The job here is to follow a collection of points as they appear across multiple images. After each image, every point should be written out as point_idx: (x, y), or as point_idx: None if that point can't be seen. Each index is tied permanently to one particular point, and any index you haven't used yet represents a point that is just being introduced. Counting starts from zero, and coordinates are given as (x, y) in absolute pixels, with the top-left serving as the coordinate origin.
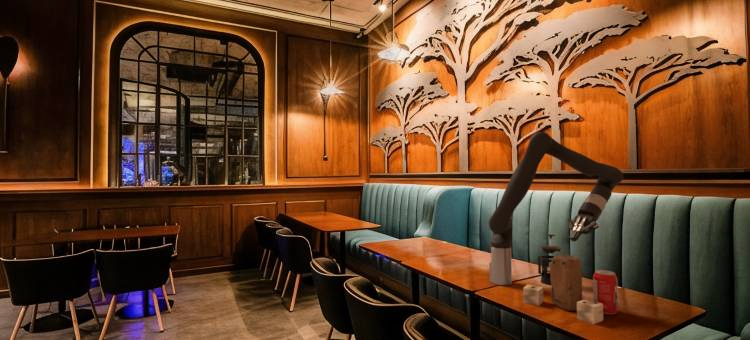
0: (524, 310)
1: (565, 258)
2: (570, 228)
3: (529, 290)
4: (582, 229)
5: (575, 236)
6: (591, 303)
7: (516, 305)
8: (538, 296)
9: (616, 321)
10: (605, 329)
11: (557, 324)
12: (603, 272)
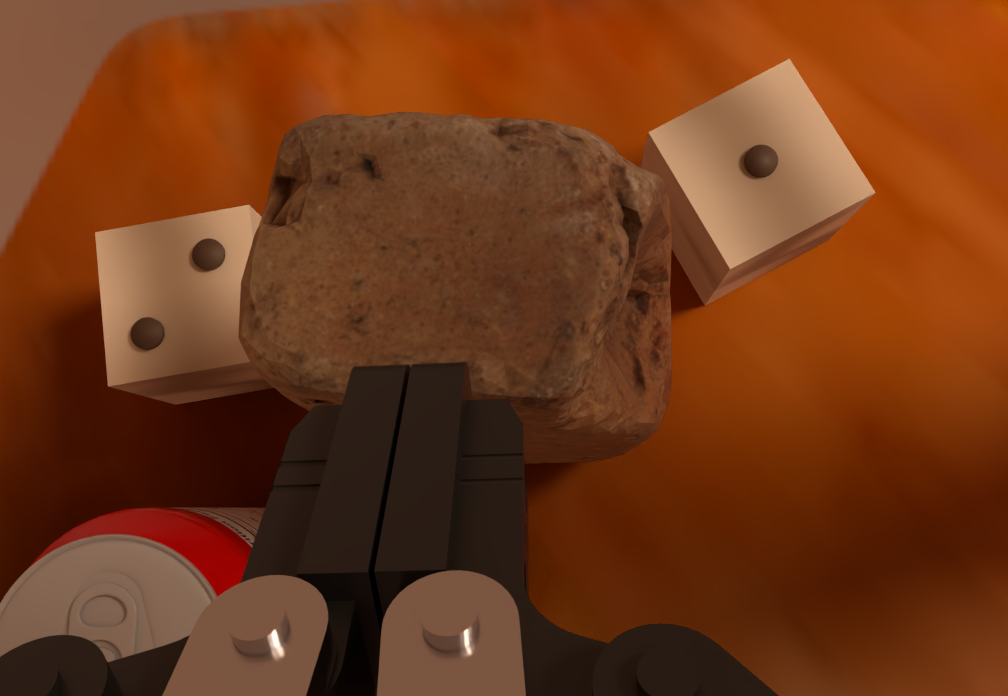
0: (596, 3)
1: (368, 149)
2: (656, 631)
3: (727, 95)
4: (32, 656)
5: (315, 446)
6: (161, 294)
7: (716, 21)
8: (644, 155)
9: (115, 484)
10: (66, 263)
11: (281, 26)
12: (102, 628)
